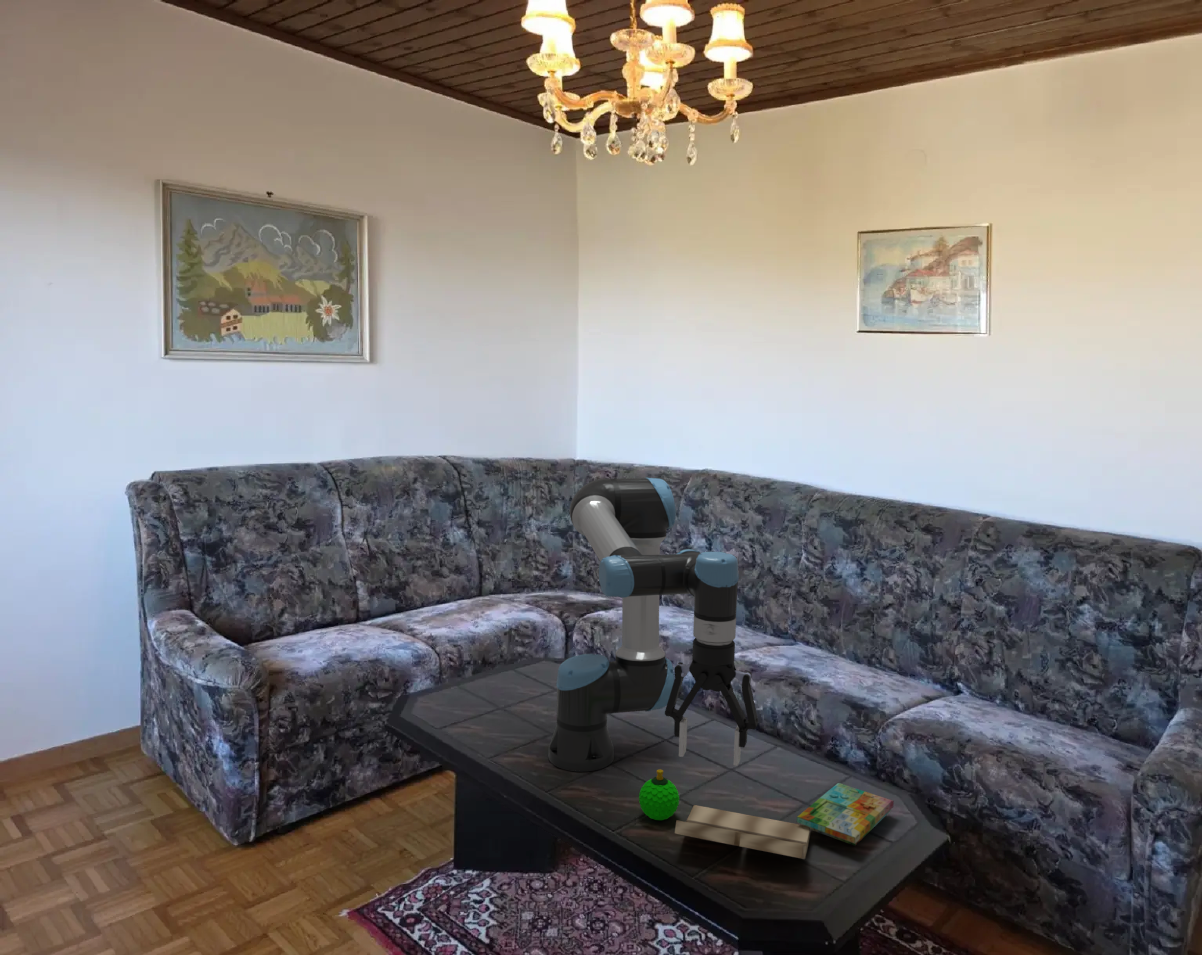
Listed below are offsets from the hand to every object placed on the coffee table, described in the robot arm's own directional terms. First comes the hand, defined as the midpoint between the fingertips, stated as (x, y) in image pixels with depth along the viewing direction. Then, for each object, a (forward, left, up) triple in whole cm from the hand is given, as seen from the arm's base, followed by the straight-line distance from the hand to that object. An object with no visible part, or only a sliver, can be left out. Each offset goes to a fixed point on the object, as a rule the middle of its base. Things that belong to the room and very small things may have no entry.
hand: (709, 757), depth 161 cm
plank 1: (0, +2, -17) cm, 17 cm away
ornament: (-12, +11, -20) cm, 26 cm away
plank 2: (+12, +2, -17) cm, 21 cm away
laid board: (+6, +11, -20) cm, 23 cm away
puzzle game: (+24, +21, -19) cm, 37 cm away
